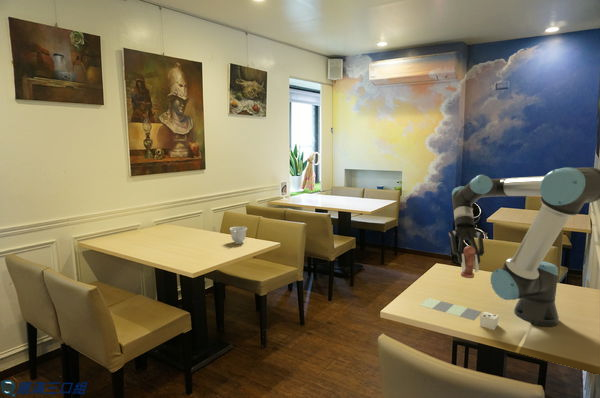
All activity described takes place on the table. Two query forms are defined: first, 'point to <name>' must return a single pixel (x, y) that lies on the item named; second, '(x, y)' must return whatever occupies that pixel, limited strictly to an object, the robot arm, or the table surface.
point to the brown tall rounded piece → (468, 262)
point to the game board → (451, 308)
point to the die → (489, 320)
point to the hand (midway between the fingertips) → (470, 270)
